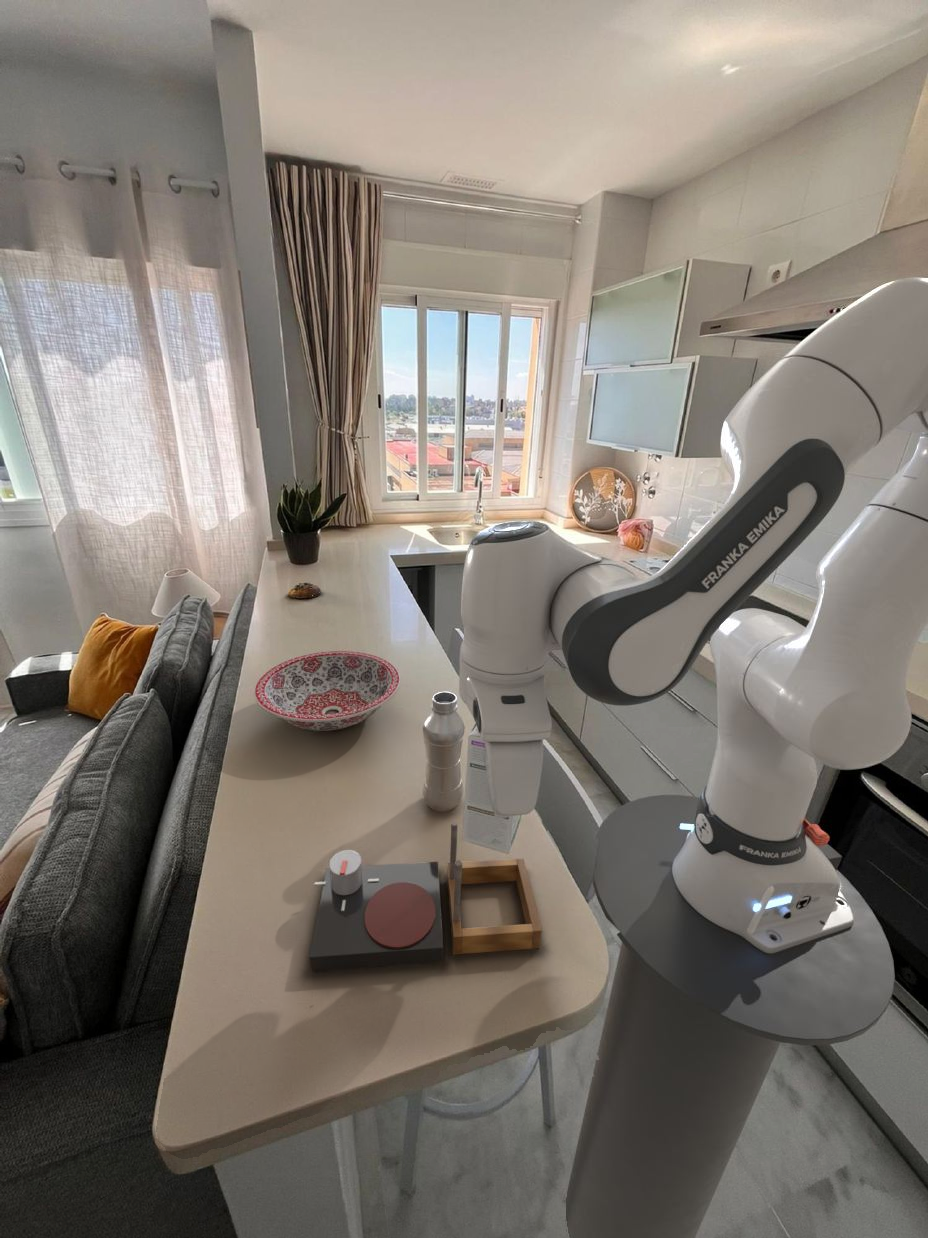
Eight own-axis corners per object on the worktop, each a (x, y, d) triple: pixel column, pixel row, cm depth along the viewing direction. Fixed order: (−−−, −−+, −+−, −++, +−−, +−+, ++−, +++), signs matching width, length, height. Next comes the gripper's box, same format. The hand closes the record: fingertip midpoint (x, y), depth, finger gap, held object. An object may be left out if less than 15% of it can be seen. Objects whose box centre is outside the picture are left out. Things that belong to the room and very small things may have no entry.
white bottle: (470, 806, 81) (475, 701, 74) (435, 823, 78) (436, 714, 70) (449, 784, 86) (452, 683, 79) (415, 798, 82) (414, 694, 75)
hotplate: (433, 881, 65) (433, 880, 65) (437, 946, 57) (437, 944, 57) (367, 885, 64) (367, 884, 64) (361, 951, 56) (361, 950, 56)
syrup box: (509, 856, 55) (523, 746, 50) (459, 841, 57) (467, 733, 52) (520, 821, 60) (533, 718, 55) (474, 808, 62) (483, 707, 57)
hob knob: (334, 869, 66) (332, 847, 65) (364, 869, 66) (363, 847, 65) (327, 896, 62) (325, 873, 61) (359, 895, 62) (358, 873, 61)
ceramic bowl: (279, 681, 117) (275, 651, 115) (402, 679, 120) (402, 650, 117) (238, 758, 91) (232, 721, 88) (398, 754, 93) (398, 718, 90)
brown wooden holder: (521, 874, 69) (528, 807, 65) (539, 948, 60) (549, 874, 55) (447, 879, 68) (449, 810, 64) (453, 955, 58) (455, 880, 54)
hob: (437, 865, 70) (437, 851, 69) (442, 962, 58) (443, 946, 57) (321, 872, 69) (319, 857, 68) (301, 973, 56) (298, 957, 55)
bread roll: (321, 597, 173) (318, 584, 171) (288, 603, 170) (285, 590, 168) (321, 589, 183) (318, 576, 181) (290, 594, 180) (287, 581, 179)
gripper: (461, 639, 61) (459, 734, 66) (485, 738, 42) (479, 861, 47) (512, 638, 61) (506, 733, 66) (558, 735, 42) (544, 857, 47)
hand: (495, 787), depth 56 cm, fingers closed on syrup box, 7 cm apart
